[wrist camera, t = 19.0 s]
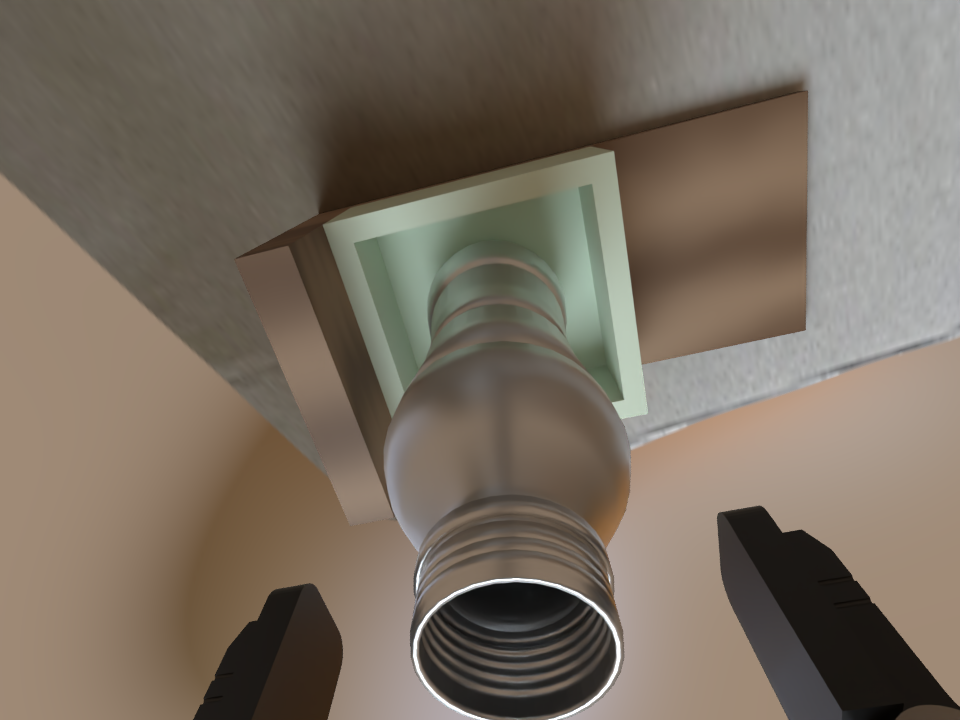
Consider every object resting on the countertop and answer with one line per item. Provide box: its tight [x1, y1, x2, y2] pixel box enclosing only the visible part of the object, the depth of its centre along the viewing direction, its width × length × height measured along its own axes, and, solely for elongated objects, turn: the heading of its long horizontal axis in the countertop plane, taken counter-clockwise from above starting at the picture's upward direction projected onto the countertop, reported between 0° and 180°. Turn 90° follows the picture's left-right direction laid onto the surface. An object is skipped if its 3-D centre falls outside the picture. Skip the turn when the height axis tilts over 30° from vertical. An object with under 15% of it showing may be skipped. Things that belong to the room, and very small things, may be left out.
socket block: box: [323, 146, 648, 419], centre depth 26 cm, size 12×12×5 cm
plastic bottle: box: [384, 240, 631, 720], centre depth 18 cm, size 6×7×20 cm
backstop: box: [234, 91, 808, 526], centre depth 24 cm, size 12×24×10 cm, turn 104°
